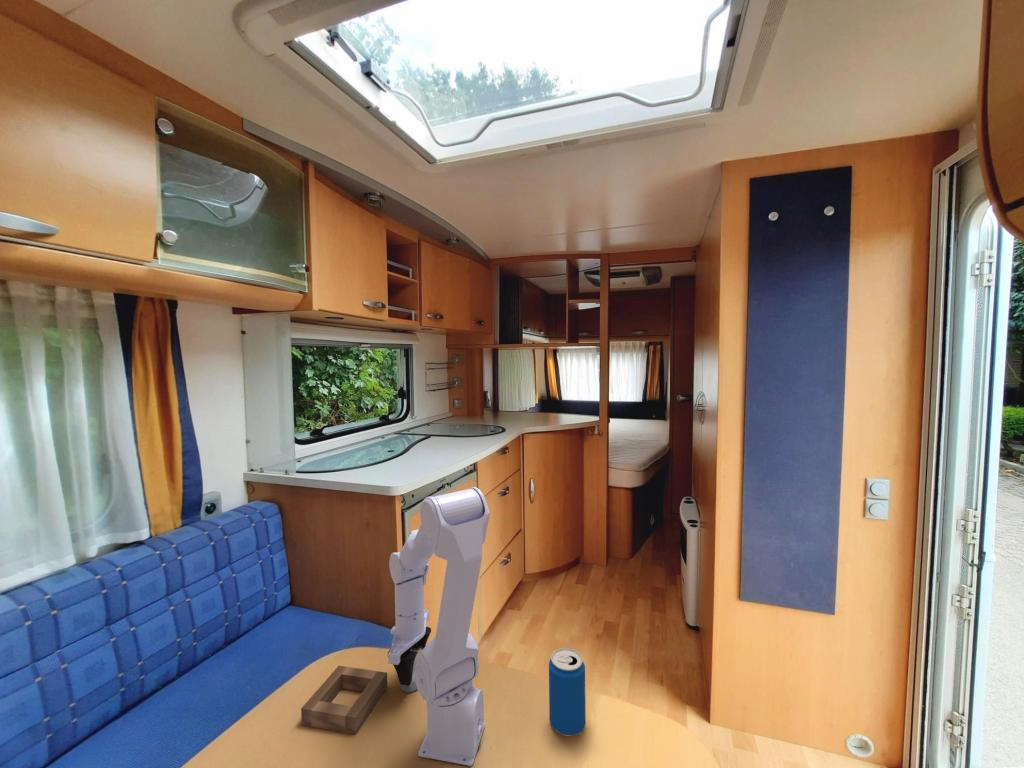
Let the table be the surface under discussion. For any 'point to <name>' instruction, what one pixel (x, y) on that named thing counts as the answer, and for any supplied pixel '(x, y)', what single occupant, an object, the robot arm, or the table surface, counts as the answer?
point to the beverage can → (567, 692)
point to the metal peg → (413, 685)
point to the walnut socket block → (343, 716)
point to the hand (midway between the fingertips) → (411, 674)
